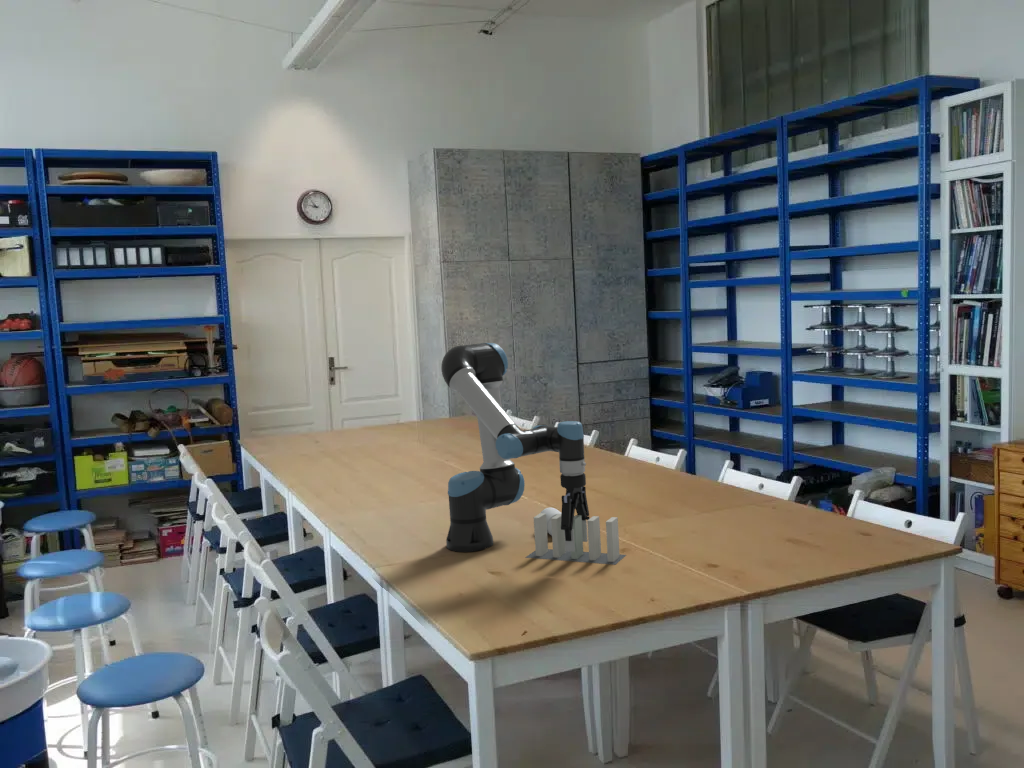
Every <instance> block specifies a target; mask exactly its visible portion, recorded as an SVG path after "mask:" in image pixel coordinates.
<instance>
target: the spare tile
mask: <svg viewBox="0 0 1024 768" xmlns="http://www.w3.org/2000/svg"><path fill="white" fill-rule="evenodd" d="M572 529H574V543H575V551H574V552H573V551H571V559H578V558H579V557H580V556H582V555H583V552H584V542H583V536H582V517H581V515H577V514H576V515H575V514H574V520H573V527H572Z"/></svg>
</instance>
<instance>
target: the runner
mask: <svg viewBox="0 0 1024 768" xmlns="http://www.w3.org/2000/svg"><path fill="white" fill-rule="evenodd" d="M619 554H620V553H619ZM626 556H627V554H622V553H621V554H620V557H619V558H618V559H617V560H615V561H614V562H608V555H607V553H605V552H601V556H600V557H599V558H598V559H596V560H595V561H594V560H589V551H583V555H582V556H580V557H579V558H578V559H571V551H566V553H565V554H563V555H562V556H561V557H559V558H556V557H553V548H552V549H550V548H548V552H547V553H545V554H544V555H542V556H536V550H533V551H532V552H530V553H529V554H528V555H526V556H525V557H524V558H525V559H537V560H538V559H539V560H548V561H549V560H551V561H563V562H564V561H565V562H574V563H575V562H577V563H589V564H590V563H591V564H601V565H602V564H603V565H611V566H615V565H617V564H619V562H621V561H623V560H622V559H624V558H625V557H626Z"/></svg>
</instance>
